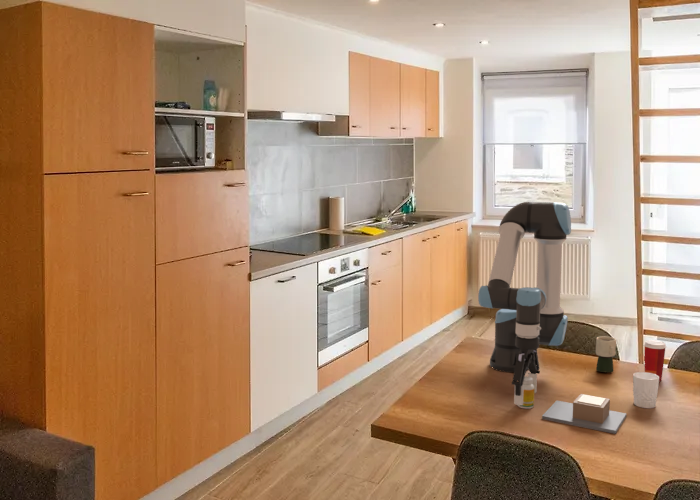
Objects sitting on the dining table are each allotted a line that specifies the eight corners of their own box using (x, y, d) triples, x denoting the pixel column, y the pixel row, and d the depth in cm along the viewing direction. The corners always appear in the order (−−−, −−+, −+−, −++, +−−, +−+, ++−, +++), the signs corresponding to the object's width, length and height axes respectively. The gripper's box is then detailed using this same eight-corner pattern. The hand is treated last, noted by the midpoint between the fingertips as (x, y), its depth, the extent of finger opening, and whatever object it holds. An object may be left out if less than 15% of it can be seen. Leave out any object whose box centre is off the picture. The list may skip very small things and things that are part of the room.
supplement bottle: (513, 404, 226) (514, 377, 224) (526, 402, 228) (527, 374, 227) (524, 410, 221) (525, 381, 220) (537, 407, 223) (538, 379, 222)
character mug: (620, 375, 254) (622, 342, 253) (602, 376, 254) (604, 342, 252) (606, 366, 265) (608, 334, 263) (589, 367, 264) (590, 335, 263)
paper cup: (660, 376, 254) (662, 339, 252) (667, 383, 246) (669, 345, 244) (638, 375, 254) (640, 339, 252) (645, 382, 247) (647, 345, 245)
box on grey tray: (541, 418, 213) (542, 399, 213) (556, 403, 227) (557, 385, 226) (615, 433, 202) (616, 413, 201) (626, 416, 215) (627, 397, 214)
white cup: (627, 400, 229) (628, 372, 227) (649, 400, 229) (651, 371, 228) (639, 409, 221) (640, 379, 219) (662, 408, 221) (664, 379, 220)
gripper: (526, 345, 209) (524, 412, 211) (550, 329, 229) (548, 389, 232) (502, 342, 213) (501, 407, 215) (528, 326, 234) (526, 385, 236)
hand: (525, 398), depth 224 cm, fingers open, 13 cm apart
